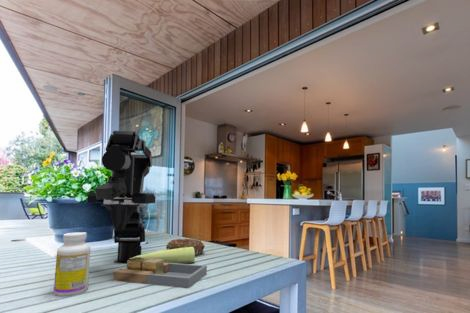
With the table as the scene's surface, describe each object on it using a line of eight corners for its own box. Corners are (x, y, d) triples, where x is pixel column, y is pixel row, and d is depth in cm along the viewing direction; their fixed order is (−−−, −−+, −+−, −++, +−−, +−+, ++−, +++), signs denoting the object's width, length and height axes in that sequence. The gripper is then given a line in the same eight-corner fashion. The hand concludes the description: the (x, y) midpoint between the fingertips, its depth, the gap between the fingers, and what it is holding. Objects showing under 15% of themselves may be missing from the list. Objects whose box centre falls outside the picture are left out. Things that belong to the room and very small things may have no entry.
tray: (146, 285, 68) (147, 274, 68) (170, 271, 79) (170, 262, 79) (188, 289, 65) (188, 278, 65) (206, 274, 76) (206, 265, 77)
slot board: (112, 281, 70) (113, 271, 70) (140, 269, 82) (141, 260, 82) (146, 285, 68) (147, 274, 68) (170, 271, 79) (170, 262, 79)
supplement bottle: (63, 287, 65) (67, 231, 67) (92, 287, 66) (96, 231, 68) (46, 298, 59) (52, 235, 60) (79, 297, 59) (83, 235, 61)
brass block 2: (141, 277, 72) (142, 261, 73) (149, 273, 76) (150, 258, 77) (155, 278, 71) (156, 262, 72) (163, 274, 75) (163, 259, 76)
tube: (193, 241, 91) (129, 247, 85) (195, 251, 87) (128, 258, 80) (192, 255, 93) (129, 262, 87) (194, 266, 88) (128, 274, 82)
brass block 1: (126, 276, 74) (127, 260, 74) (135, 272, 77) (136, 257, 78) (139, 277, 73) (140, 261, 73) (148, 273, 76) (149, 258, 77)
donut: (159, 257, 98) (159, 242, 98) (176, 249, 111) (176, 236, 112) (197, 259, 95) (197, 244, 95) (210, 251, 108) (210, 238, 108)
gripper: (73, 171, 75) (68, 231, 73) (134, 171, 70) (131, 234, 68) (102, 174, 85) (99, 226, 83) (157, 174, 81) (155, 229, 79)
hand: (119, 229), depth 78 cm, fingers closed
